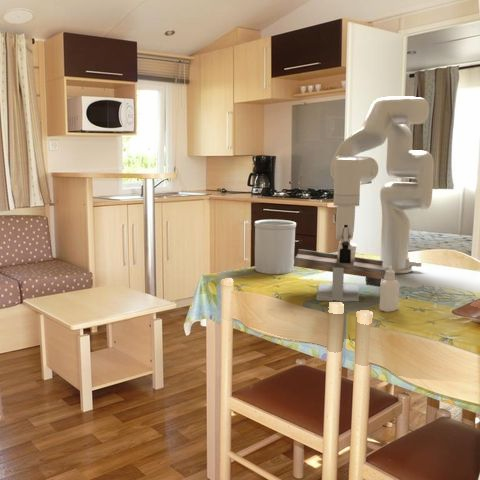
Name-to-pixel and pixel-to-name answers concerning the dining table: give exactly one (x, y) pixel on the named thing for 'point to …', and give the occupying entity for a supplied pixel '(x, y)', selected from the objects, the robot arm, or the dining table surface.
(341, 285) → the fulcrum
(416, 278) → the dining table surface
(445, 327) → the dining table surface
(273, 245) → the utensil holder
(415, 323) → the dining table surface
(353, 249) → the rider
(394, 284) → the eye dropper bottle
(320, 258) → the beam
